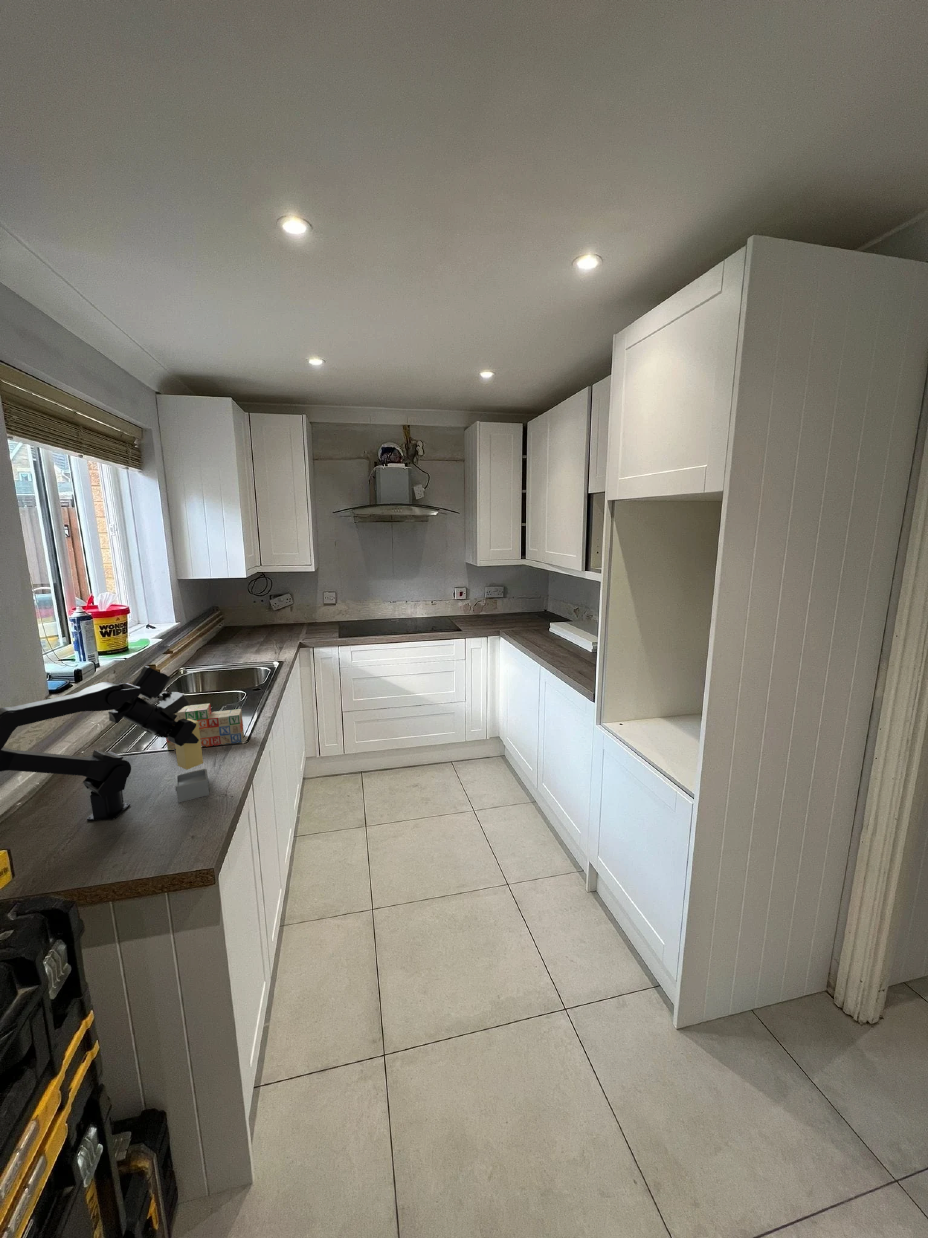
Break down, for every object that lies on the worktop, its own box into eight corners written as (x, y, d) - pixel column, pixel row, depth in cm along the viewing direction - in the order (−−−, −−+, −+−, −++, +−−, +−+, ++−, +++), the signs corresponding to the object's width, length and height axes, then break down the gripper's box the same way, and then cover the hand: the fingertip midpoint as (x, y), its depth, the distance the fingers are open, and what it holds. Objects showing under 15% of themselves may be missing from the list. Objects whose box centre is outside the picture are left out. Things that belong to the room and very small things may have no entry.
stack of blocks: (244, 735, 166) (241, 699, 163) (241, 742, 160) (238, 706, 158) (172, 743, 160) (167, 707, 158) (167, 752, 154) (162, 714, 152)
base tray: (177, 803, 124) (175, 787, 123) (176, 790, 130) (175, 775, 129) (210, 795, 127) (208, 779, 127) (208, 783, 134) (206, 768, 133)
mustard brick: (186, 769, 133) (181, 727, 130) (177, 765, 135) (172, 724, 133) (203, 763, 136) (198, 721, 134) (194, 759, 139) (189, 718, 137)
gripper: (183, 691, 123) (230, 719, 134) (146, 680, 133) (192, 707, 144) (154, 732, 118) (205, 758, 129) (118, 718, 128) (168, 742, 139)
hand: (192, 739), depth 136 cm, fingers closed on mustard brick, 4 cm apart
